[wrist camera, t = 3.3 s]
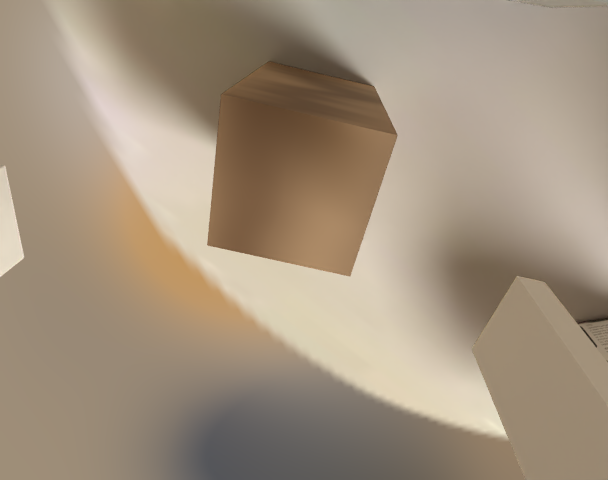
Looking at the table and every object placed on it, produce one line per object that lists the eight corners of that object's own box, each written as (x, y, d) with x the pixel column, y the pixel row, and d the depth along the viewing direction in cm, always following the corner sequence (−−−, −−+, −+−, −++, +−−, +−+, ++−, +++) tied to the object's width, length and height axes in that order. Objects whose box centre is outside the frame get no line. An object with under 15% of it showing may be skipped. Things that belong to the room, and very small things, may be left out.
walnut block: (374, 86, 21) (397, 135, 13) (346, 184, 25) (350, 276, 16) (268, 61, 21) (220, 94, 13) (253, 163, 24) (207, 245, 16)
